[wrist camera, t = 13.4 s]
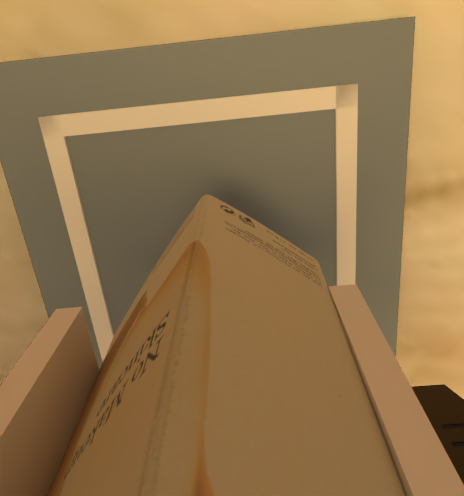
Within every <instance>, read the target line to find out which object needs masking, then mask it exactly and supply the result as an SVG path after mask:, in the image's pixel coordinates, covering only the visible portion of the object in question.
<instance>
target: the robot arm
mask: <svg viewBox="0 0 464 496" xmlns="http://www.w3.org/2000/svg"><path fill="white" fill-rule="evenodd" d="M329 291H330V294H331V297H332V299H333V302H334V305H335V307H336V310H337V313H338V316H339V318H340V321H341V324H342V326H343V329H344V331H345V334H346V337H347V339H348V342H349V345H350V348H351V351H352V353H353V356H354V358H355V361H356V363H357V366H358V369H359V371H360V374H361V377H362V380H363V382H364V385H365V388H366V391H367V393H368V396H369V399H370V401H371V404H372V407H373V409H374V412H375V415H376V418H377V420H378V423H379V426H380V429H381V431H382V434H383V436H384V439H385V441H386V444H387V446H388V449H389V452H390V455H391V457H392V460H393V462H394V465H395V467H396V470H397V473H398V476H399V478H400V481H401V483H402V486H403V489H404V492H405V495H406V496H464V399H462V398H461V397H460V396H458V395H457V394H456V393H455V392H453V391H452V390H451V389H449V388H448V387H447V386H445V385H430V386H416V387H411V385H410V384H409V382H408V380H407V378H406V376H405V374H404V372H403V371H402V369H401V367H400V365H399V363H398V361H397V359H396V357H395V356H394V354H393V352H392V350H391V348H390V346H389V344H388V342H387V341H386V339H385V337H384V335H383V333H382V331H381V329H380V328H379V326H378V324H377V322H376V320H375V318H374V316H373V314H372V313H371V311H370V309H369V307H368V305H367V303H366V301H365V299H364V298H363V296H362V294H361V292H360V290H359V288H358V286H357V284H352V285H340V286H329ZM98 372H99V366H98V363H97V359H96V355H95V351H94V348H93V344H92V340H91V337H90V333H89V329H88V326H87V322H86V318H85V314H84V311H83V307H73V308H61V309H56V310H55V311H54V313H53V314H52V315H51V317H50V318H49V320H48V321H47V322H46V324H45V325H44V326H43V328H42V329H41V331H40V332H39V333H38V335H37V336H36V337H35V339H34V340H33V342H32V343H31V344H30V346H29V347H28V348H27V350H26V351H25V352H24V354H23V355H22V357H21V358H20V359H19V361H18V362H17V363H16V365H15V366H14V368H13V369H12V370H11V372H10V373H9V374H8V376H7V377H6V379H5V380H4V381H3V383H2V384H1V385H0V496H47V494H48V492H49V490H50V487H51V485H52V483H53V480H54V478H55V475H56V473H57V471H58V468H59V466H60V463H61V461H62V458H63V456H64V454H65V451H66V449H67V446H68V444H69V442H70V440H71V437H72V435H73V433H74V430H75V428H76V426H77V424H78V421H79V419H80V416H81V414H82V411H83V409H84V407H85V404H86V402H87V399H88V397H89V394H90V392H91V389H92V387H93V384H94V382H95V379H96V377H97V374H98Z"/></svg>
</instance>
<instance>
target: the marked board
mask: <svg viewBox="0 0 464 496" xmlns="http://www.w3.org/2000/svg"><path fill="white" fill-rule="evenodd" d="M414 30H415V17H407V18H398V19H389V20H380V21H371V22H361V23H352V24H343V25H334V26H325V27H316V28H307V29H298V30H289V31H280V32H271V33H262V34H253V35H244V36H235V37H226V38H217V39H208V40H199V41H190V42H181V43H172V44H163V45H154V46H145V47H136V48H127V49H118V50H109V51H100V52H91V53H82V54H73V55H63V56H54V57H45V58H36V59H27V60H18V61H9V62H0V161H1V164H2V168H3V171H4V174H5V177H6V180H7V184H8V187H9V190H10V193H11V197H12V200H13V203H14V206H15V210H16V213H17V216H18V219H19V223H20V226H21V229H22V232H23V236H24V239H25V242H26V245H27V248H28V252H29V255H30V258H31V261H32V265H33V268H34V271H35V274H36V278H37V281H38V284H39V287H40V291H41V294H42V297H43V300H44V303H45V307H46V310H47V313H48V316H49V318H50V317H51V315H52V314H53V313H54V311H55V310H56V309H61V308H73V307H83V311H84V314H85V318H86V322H87V326H88V329H89V333H90V337H91V340H92V344H93V348H94V351H95V355H96V359H97V363H98V366H99V370H100V367H101V365H102V363H103V361H104V359H105V356H106V354H107V351H108V349H109V346H110V344H111V342H112V339H113V337H114V335H115V333H116V331H117V329H118V327H119V326H120V324H121V322H122V320H123V319H124V317H125V315H126V314H127V312H128V310H129V308H130V307H131V305H132V303H133V302H134V300H135V298H136V297H137V295H138V293H139V291H140V290H141V288H142V286H143V284H144V283H145V281H146V279H147V278H148V276H149V274H150V273H151V271H152V270H153V268H154V267H155V265H156V264H157V262H158V260H159V259H160V257H161V256H162V254H163V253H164V251H165V250H166V248H167V247H168V245H169V244H170V242H171V240H172V239H173V238H174V236H175V235H176V233H177V232H178V230H179V229H180V227H181V226H182V224H183V223H184V222H185V220H186V219H187V217H188V216H189V214H190V213H191V212H192V210H193V209H194V207H195V206H196V205H197V203H198V202H199V200H200V199H201V198H202V196H204V195H207V194H208V195H211V196H213V197H215V198H217V199H219V200H221V201H223V202H224V203H226V204H228V205H230V206H231V207H233V208H235V209H237V210H239V211H241V212H242V213H244V214H246V215H247V216H249V217H251V218H252V219H254V220H256V221H257V222H259V223H261V224H262V225H264V226H265V227H267V228H269V229H270V230H272V231H273V232H275V233H277V234H278V235H280V236H281V237H283V238H284V239H286V240H288V241H289V242H291V243H292V244H294V245H295V246H297V247H298V248H300V249H301V250H303V251H304V252H306V253H307V254H309V255H310V256H312V257H314V258H315V259H316V260H317V261H318V263H319V264H320V267H321V270H322V273H323V275H324V278H325V280H326V283H327V286H328V289H329V286H340V285H352V284H357V286H358V288H359V290H360V292H361V294H362V296H363V298H364V299H365V301H366V303H367V305H368V307H369V309H370V311H371V313H372V314H373V316H374V318H375V320H376V322H377V324H378V326H379V328H380V329H381V331H382V333H383V335H384V337H385V339H386V341H387V342H388V344H389V346H390V348H391V350H392V352H393V354H394V356H395V357H396V340H397V322H398V305H399V288H400V271H401V254H402V236H403V219H404V202H405V185H406V168H407V150H408V133H409V116H410V99H411V82H412V64H413V47H414Z"/></svg>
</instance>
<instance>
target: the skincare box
mask: <svg viewBox="0 0 464 496" xmlns="http://www.w3.org/2000/svg"><path fill="white" fill-rule="evenodd" d="M47 496H406V495H405V492H404V489H403V486H402V483H401V481H400V478H399V476H398V473H397V470H396V467H395V465H394V462H393V460H392V457H391V455H390V452H389V449H388V446H387V444H386V441H385V439H384V436H383V434H382V431H381V429H380V426H379V423H378V420H377V418H376V415H375V412H374V409H373V407H372V404H371V401H370V399H369V396H368V393H367V391H366V388H365V385H364V382H363V380H362V377H361V374H360V371H359V369H358V366H357V363H356V361H355V358H354V356H353V353H352V351H351V348H350V345H349V342H348V339H347V337H346V334H345V331H344V329H343V326H342V324H341V321H340V318H339V316H338V313H337V310H336V307H335V305H334V302H333V299H332V297H331V294H330V291H329V289H328V286H327V283H326V280H325V278H324V275H323V273H322V270H321V267H320V264H319V263H318V261H317V260H316V259H315V258H314V257H312V256H310V255H309V254H307V253H306V252H304V251H303V250H301V249H300V248H298V247H297V246H295V245H294V244H292V243H291V242H289V241H288V240H286V239H284V238H283V237H281V236H280V235H278V234H277V233H275V232H273V231H272V230H270V229H269V228H267V227H265V226H264V225H262V224H261V223H259V222H257V221H256V220H254V219H252V218H251V217H249V216H247V215H246V214H244V213H242V212H241V211H239V210H237V209H235V208H233V207H231V206H230V205H228V204H226V203H224V202H223V201H221V200H219V199H217V198H215V197H213V196H211V195H208V194H207V195H204V196H202V198H201V199H200V200H199V202H198V203H197V205H196V206H195V207H194V209H193V210H192V212H191V213H190V214H189V216H188V217H187V219H186V220H185V222H184V223H183V224H182V226H181V227H180V229H179V230H178V232H177V233H176V235H175V236H174V238H173V239H172V240H171V242H170V244H169V245H168V247H167V248H166V250H165V251H164V253H163V254H162V256H161V257H160V259H159V260H158V262H157V264H156V265H155V267H154V268H153V270H152V271H151V273H150V274H149V276H148V278H147V279H146V281H145V283H144V284H143V286H142V288H141V290H140V291H139V293H138V295H137V297H136V298H135V300H134V302H133V303H132V305H131V307H130V308H129V310H128V312H127V314H126V315H125V317H124V319H123V320H122V322H121V324H120V326H119V327H118V329H117V331H116V333H115V335H114V337H113V339H112V342H111V344H110V346H109V349H108V351H107V354H106V356H105V359H104V361H103V363H102V365H101V367H100V370H99V372H98V374H97V377H96V379H95V382H94V384H93V387H92V389H91V392H90V394H89V397H88V399H87V402H86V404H85V407H84V409H83V411H82V414H81V416H80V419H79V421H78V424H77V426H76V428H75V430H74V433H73V435H72V437H71V440H70V442H69V444H68V446H67V449H66V451H65V454H64V456H63V458H62V461H61V463H60V466H59V468H58V471H57V473H56V475H55V478H54V480H53V483H52V485H51V487H50V490H49V492H48V494H47Z"/></svg>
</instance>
